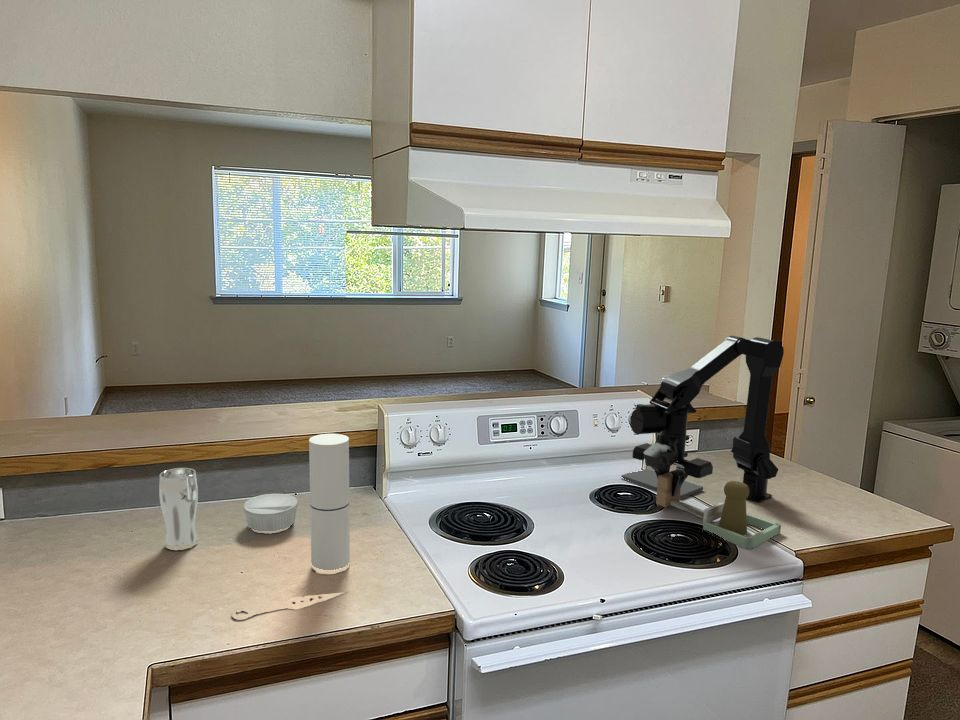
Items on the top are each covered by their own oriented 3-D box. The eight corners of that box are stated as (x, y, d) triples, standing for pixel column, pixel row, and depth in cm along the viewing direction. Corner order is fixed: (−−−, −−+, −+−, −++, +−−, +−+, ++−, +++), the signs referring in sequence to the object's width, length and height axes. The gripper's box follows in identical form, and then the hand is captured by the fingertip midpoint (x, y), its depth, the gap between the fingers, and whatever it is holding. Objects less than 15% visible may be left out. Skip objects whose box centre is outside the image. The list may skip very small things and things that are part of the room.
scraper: (671, 497, 170) (674, 470, 168) (722, 516, 160) (726, 487, 158) (654, 504, 165) (657, 476, 164) (706, 524, 155) (709, 494, 154)
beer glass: (208, 541, 141) (204, 470, 139) (180, 555, 135) (176, 481, 132) (182, 534, 144) (179, 465, 141) (154, 547, 138) (150, 475, 135)
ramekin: (257, 542, 142) (256, 517, 141) (235, 524, 150) (234, 500, 149) (307, 528, 149) (307, 504, 148) (284, 511, 158) (283, 489, 157)
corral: (733, 517, 161) (734, 509, 161) (780, 533, 153) (781, 524, 152) (702, 531, 153) (703, 523, 152) (749, 549, 144) (750, 540, 144)
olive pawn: (741, 538, 150) (745, 490, 148) (713, 530, 153) (718, 482, 151) (751, 530, 154) (756, 482, 152) (724, 522, 158) (729, 476, 156)
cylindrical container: (316, 578, 128) (314, 446, 123) (307, 561, 134) (304, 436, 130) (354, 570, 131) (353, 442, 127) (343, 554, 137) (342, 431, 133)
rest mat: (644, 471, 191) (644, 467, 191) (702, 490, 177) (703, 486, 177) (621, 478, 184) (621, 475, 184) (680, 499, 171) (680, 495, 171)
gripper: (620, 427, 165) (616, 490, 168) (689, 447, 151) (683, 515, 154) (648, 420, 172) (644, 480, 175) (716, 438, 158) (710, 503, 161)
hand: (668, 494), depth 166 cm, fingers closed on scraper, 2 cm apart
